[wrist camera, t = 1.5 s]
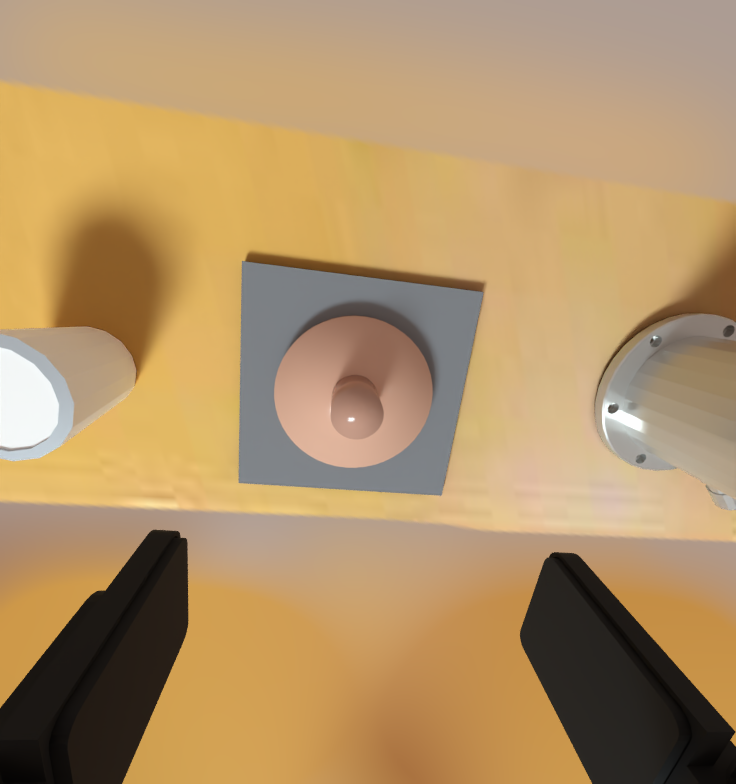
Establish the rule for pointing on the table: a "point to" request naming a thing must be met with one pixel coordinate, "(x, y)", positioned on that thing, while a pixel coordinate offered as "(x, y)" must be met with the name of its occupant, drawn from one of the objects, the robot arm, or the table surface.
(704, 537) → the table surface
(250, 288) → the mat
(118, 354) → the white cup
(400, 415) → the lid
